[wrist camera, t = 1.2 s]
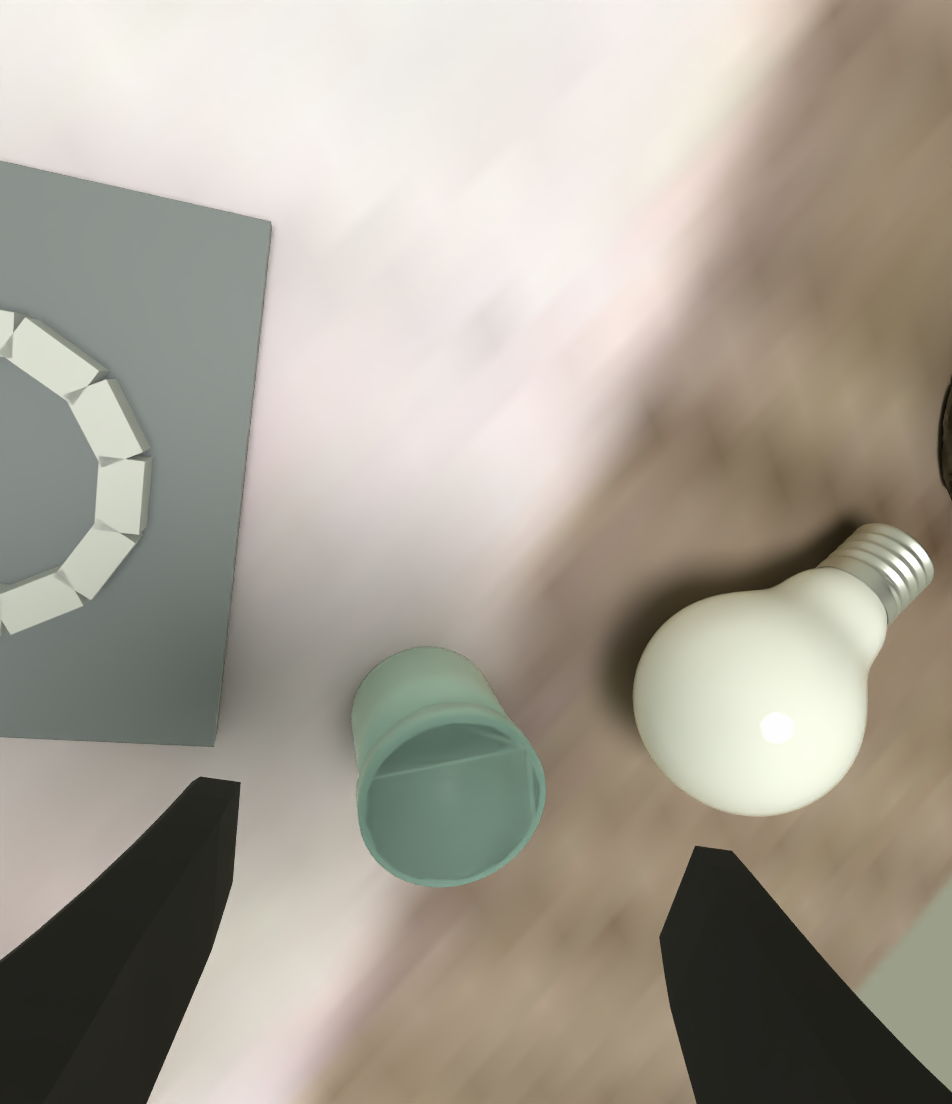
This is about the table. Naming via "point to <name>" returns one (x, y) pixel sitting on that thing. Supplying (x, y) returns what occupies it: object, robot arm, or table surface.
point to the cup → (441, 771)
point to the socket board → (120, 455)
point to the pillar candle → (947, 445)
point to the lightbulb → (775, 677)
